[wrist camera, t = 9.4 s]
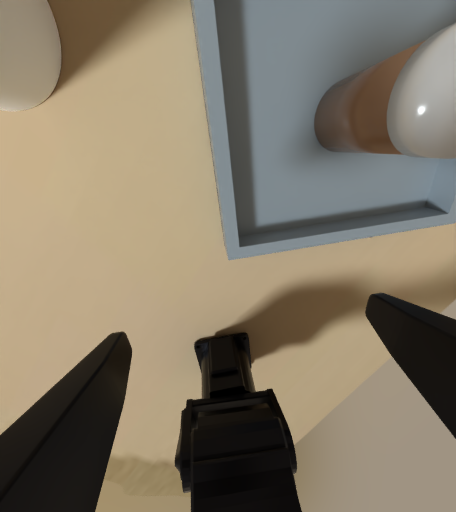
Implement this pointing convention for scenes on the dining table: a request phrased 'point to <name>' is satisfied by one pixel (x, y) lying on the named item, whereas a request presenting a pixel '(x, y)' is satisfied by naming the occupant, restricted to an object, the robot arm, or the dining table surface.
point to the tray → (309, 122)
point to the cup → (27, 53)
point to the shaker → (396, 104)
